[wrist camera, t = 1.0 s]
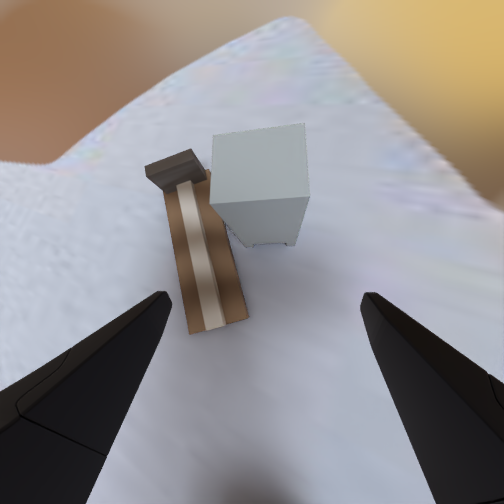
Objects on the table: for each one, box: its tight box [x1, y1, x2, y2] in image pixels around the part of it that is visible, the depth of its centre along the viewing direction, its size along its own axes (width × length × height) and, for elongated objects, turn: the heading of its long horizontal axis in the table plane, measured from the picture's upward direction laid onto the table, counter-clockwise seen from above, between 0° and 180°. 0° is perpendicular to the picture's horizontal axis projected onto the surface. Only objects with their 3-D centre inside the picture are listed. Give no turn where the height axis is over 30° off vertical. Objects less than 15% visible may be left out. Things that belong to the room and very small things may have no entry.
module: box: [210, 123, 310, 248], centre depth 17 cm, size 5×6×12 cm
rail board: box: [145, 149, 249, 335], centre depth 21 cm, size 20×7×5 cm, turn 16°
